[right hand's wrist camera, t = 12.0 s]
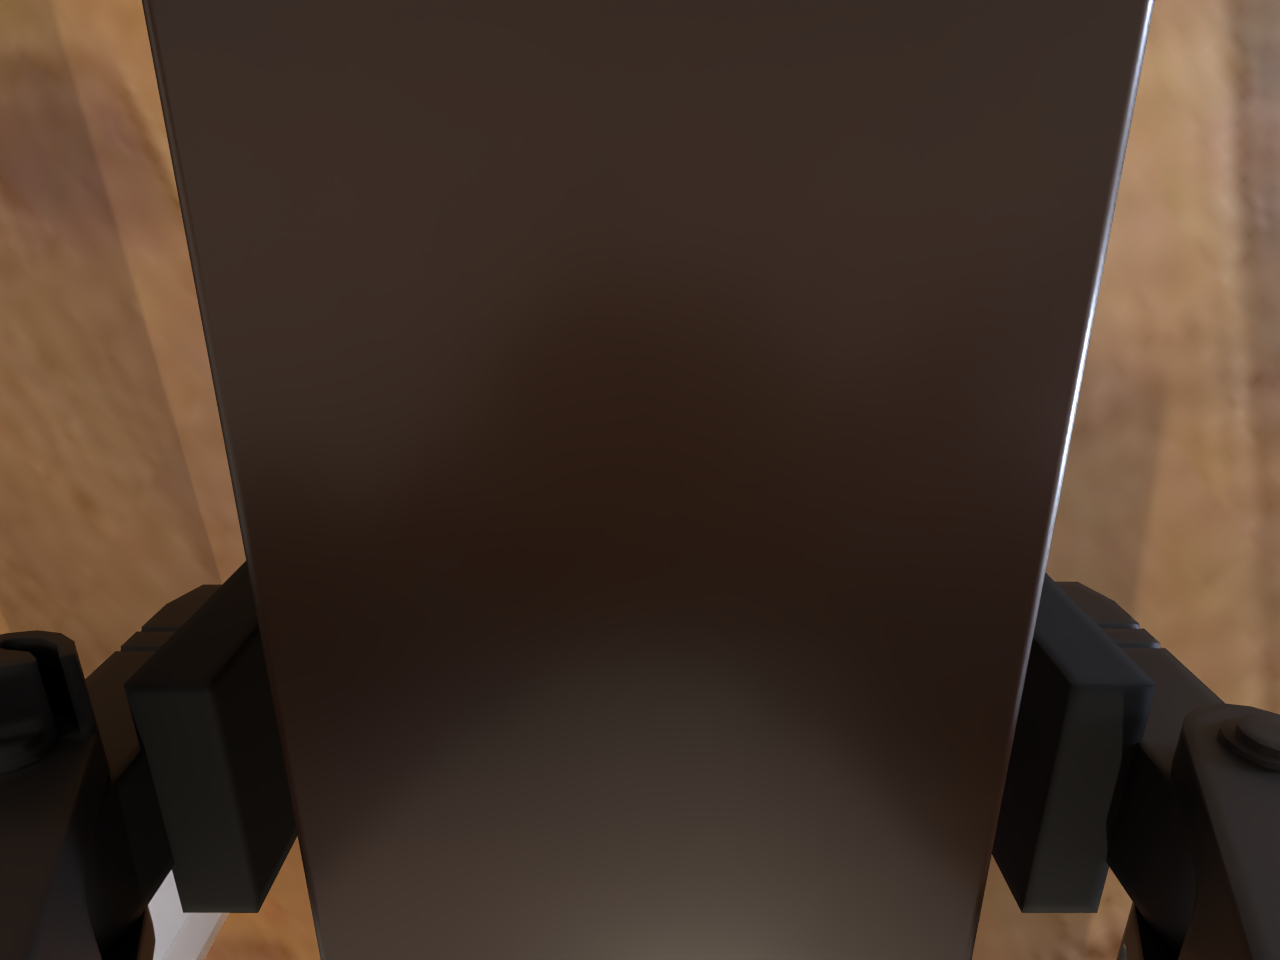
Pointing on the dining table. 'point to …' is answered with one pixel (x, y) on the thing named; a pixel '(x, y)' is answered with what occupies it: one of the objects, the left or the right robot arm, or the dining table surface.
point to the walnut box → (647, 445)
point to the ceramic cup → (181, 926)
